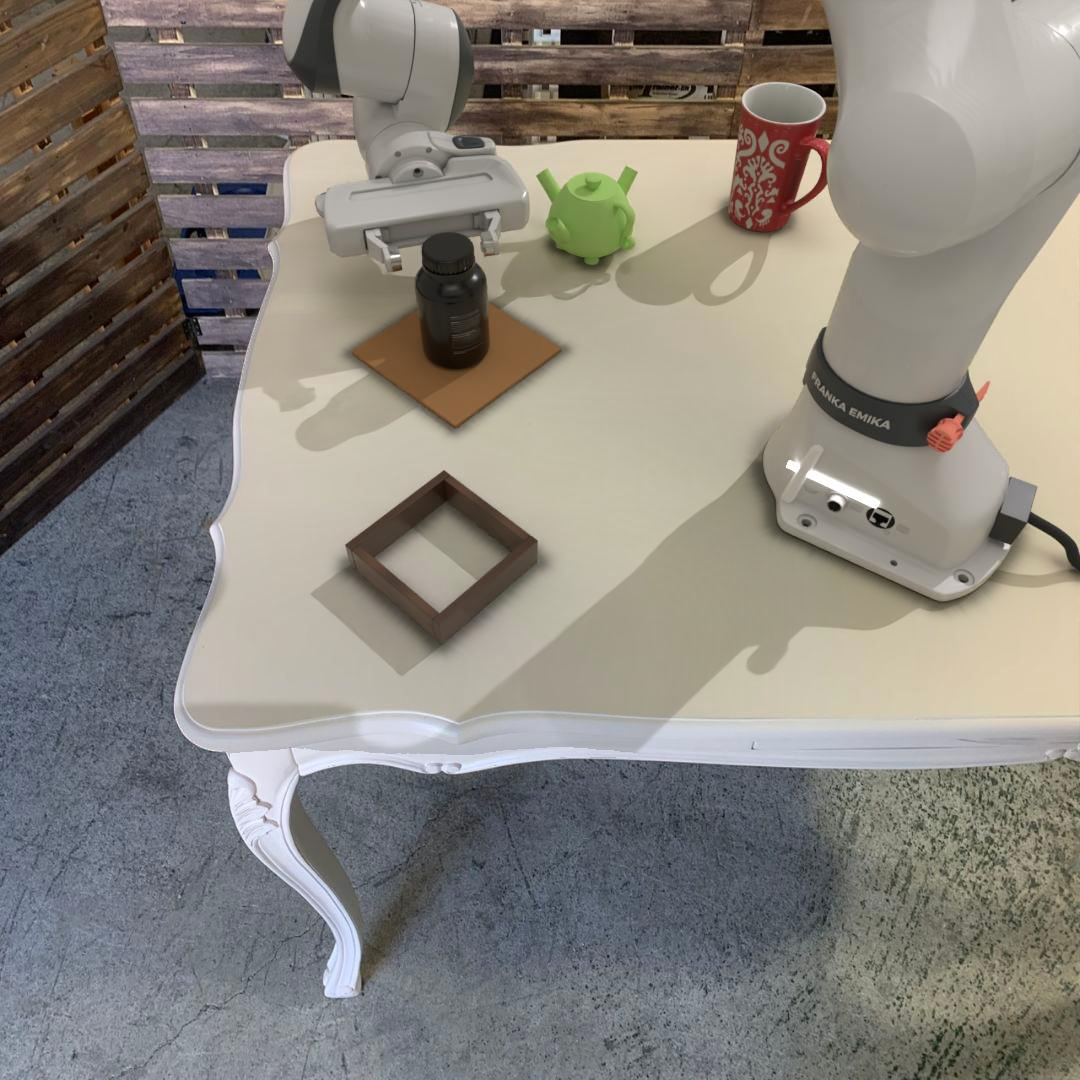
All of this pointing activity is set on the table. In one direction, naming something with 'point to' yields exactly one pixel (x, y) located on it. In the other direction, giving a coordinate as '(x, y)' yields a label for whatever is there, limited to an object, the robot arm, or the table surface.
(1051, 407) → the table surface
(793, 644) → the table surface
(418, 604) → the frame
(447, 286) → the supplement bottle
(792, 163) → the mug
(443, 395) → the cork mat
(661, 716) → the table surface
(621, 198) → the teapot
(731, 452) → the table surface
